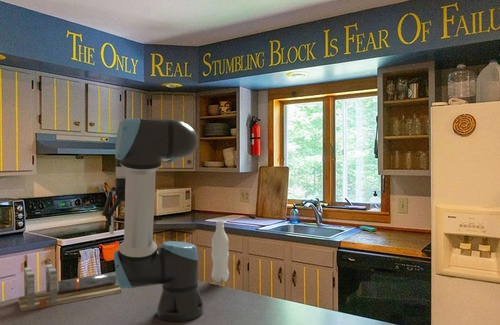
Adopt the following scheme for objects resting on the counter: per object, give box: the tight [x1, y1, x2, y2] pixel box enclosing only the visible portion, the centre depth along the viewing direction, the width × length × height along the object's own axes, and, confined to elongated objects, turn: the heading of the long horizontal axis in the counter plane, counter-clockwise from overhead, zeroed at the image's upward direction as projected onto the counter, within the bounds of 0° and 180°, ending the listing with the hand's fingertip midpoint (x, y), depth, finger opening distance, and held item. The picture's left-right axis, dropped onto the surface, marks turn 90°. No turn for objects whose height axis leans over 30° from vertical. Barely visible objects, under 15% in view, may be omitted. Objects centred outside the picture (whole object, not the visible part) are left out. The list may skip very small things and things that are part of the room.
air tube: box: [57, 271, 117, 294], centre depth 153 cm, size 20×5×5 cm, turn 124°
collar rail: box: [17, 263, 122, 312], centre depth 149 cm, size 13×34×12 cm, turn 124°
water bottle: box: [211, 220, 230, 284], centre depth 167 cm, size 7×7×25 cm
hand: (126, 232), depth 161 cm, fingers open, 11 cm apart
